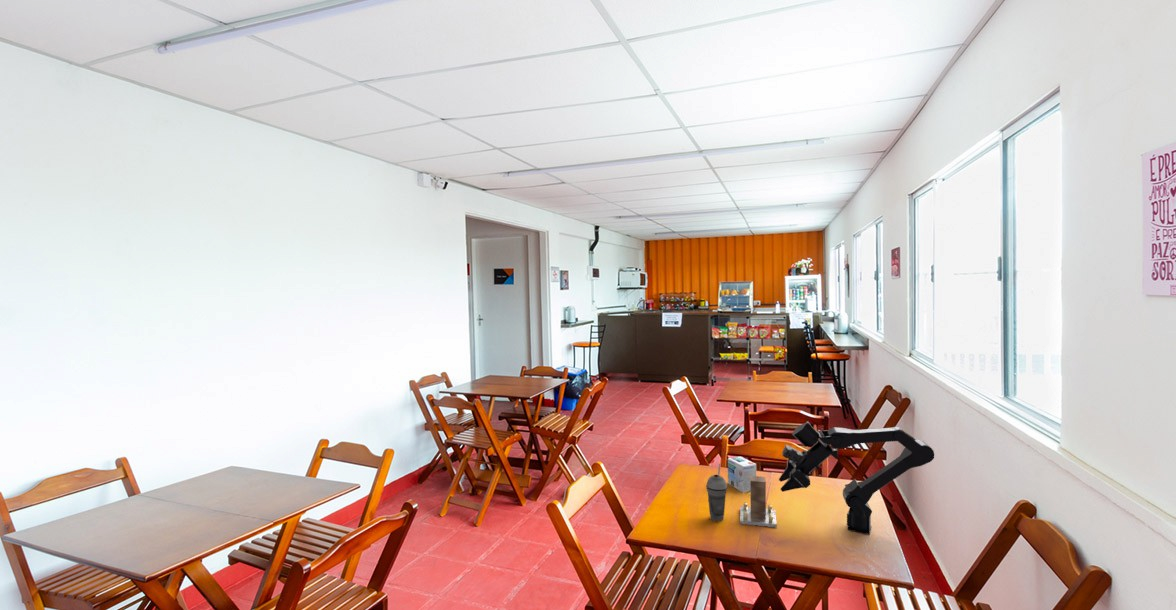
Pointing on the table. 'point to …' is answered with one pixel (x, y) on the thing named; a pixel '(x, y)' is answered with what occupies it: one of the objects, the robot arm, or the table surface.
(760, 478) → the walnut block
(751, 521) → the plate
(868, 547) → the table surface
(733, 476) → the light bulb box
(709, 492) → the beverage cup
